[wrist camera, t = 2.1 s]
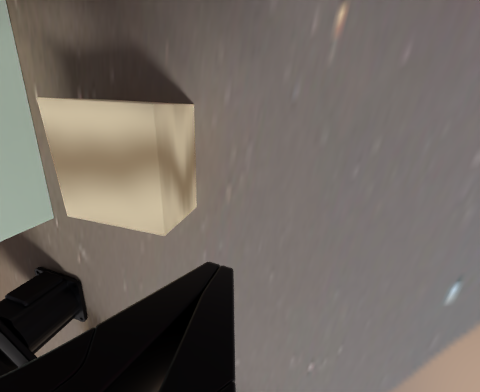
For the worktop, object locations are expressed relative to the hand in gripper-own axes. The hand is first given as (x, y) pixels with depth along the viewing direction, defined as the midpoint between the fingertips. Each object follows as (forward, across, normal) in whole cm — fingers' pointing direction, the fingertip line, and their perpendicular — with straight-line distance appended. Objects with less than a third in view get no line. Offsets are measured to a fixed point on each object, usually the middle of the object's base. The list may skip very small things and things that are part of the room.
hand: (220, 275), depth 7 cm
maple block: (+11, +10, 0) cm, 15 cm away
